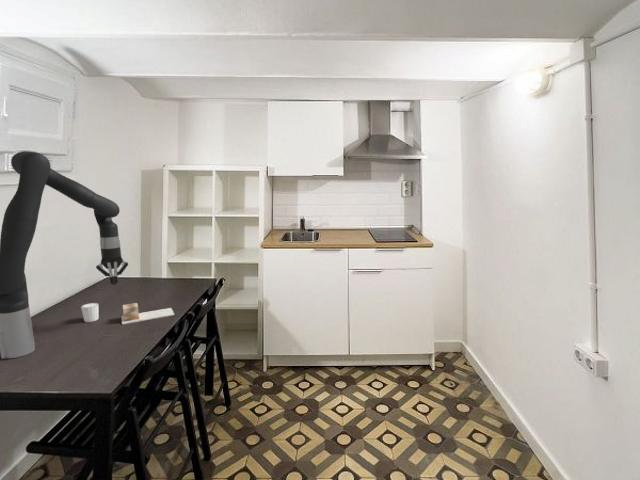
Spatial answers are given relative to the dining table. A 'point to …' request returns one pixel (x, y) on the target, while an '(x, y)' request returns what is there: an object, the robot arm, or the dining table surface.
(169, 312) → the mat
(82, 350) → the dining table surface
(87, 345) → the dining table surface
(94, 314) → the white cup
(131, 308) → the maple cube
